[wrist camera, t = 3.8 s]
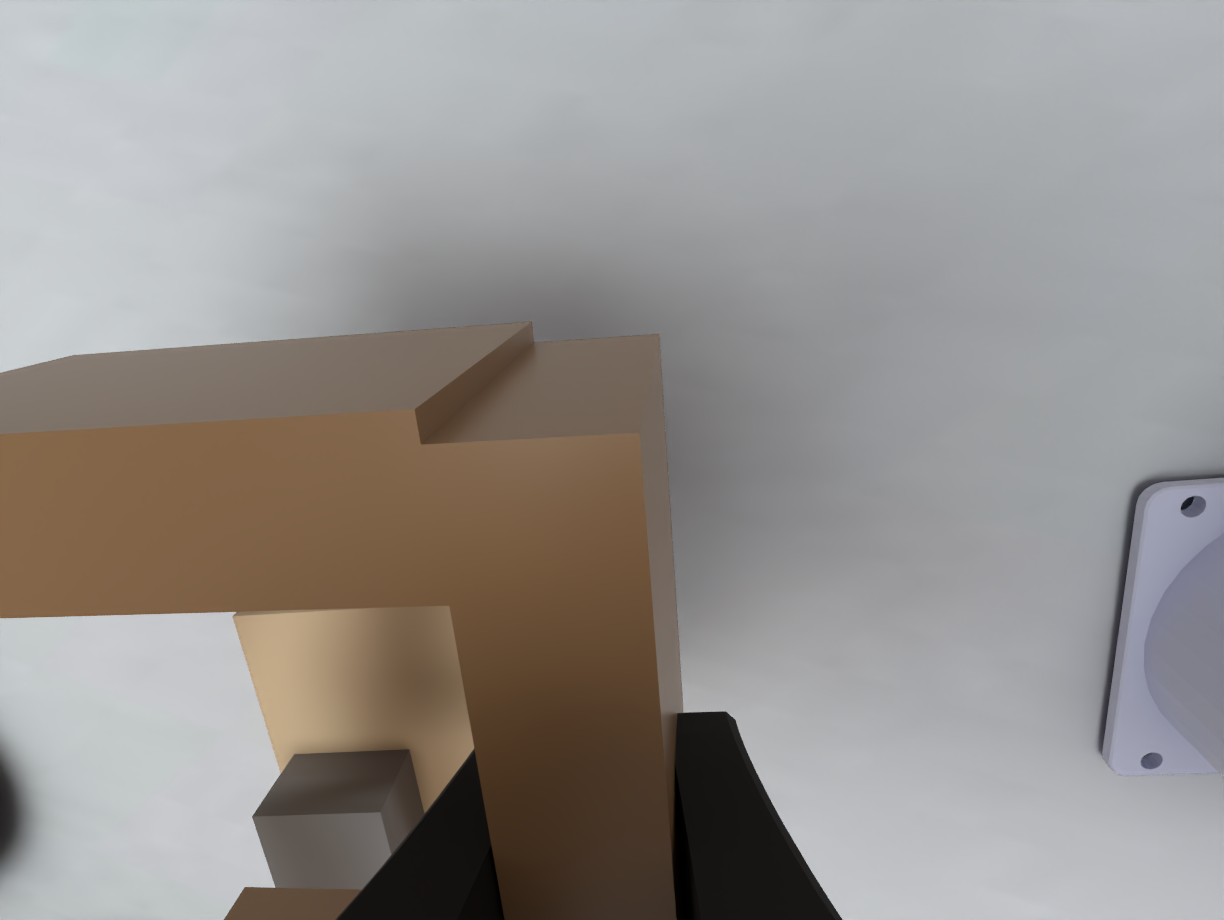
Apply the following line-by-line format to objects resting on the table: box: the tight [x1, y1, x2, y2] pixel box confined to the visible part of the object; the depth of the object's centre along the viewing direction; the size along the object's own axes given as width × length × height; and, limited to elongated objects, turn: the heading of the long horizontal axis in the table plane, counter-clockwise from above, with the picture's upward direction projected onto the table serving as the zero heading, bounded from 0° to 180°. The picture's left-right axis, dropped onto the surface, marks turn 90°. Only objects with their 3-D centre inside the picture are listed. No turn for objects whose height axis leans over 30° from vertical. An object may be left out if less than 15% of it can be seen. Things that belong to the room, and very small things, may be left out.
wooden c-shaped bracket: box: [0, 322, 686, 920], centre depth 9 cm, size 8×10×4 cm
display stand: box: [233, 606, 474, 889], centre depth 19 cm, size 8×12×4 cm, turn 6°
